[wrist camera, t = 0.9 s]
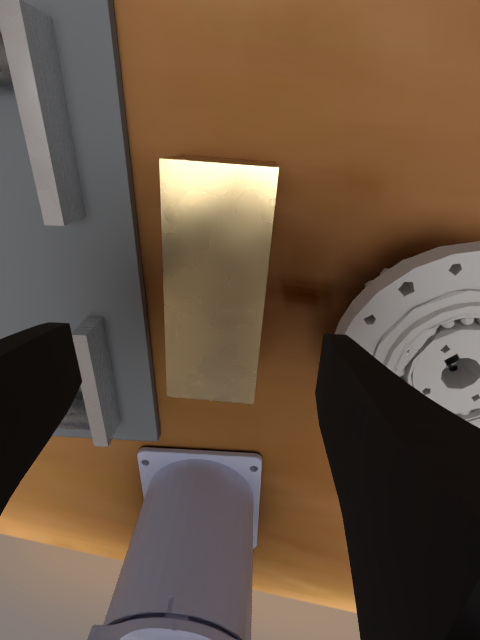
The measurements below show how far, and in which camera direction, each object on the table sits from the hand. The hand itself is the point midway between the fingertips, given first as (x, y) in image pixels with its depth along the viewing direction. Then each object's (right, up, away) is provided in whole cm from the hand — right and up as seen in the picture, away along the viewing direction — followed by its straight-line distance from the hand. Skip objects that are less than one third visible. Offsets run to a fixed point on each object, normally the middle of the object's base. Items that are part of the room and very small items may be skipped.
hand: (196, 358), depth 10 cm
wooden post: (0, +4, +7) cm, 8 cm away
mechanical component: (+14, +3, +4) cm, 15 cm away
